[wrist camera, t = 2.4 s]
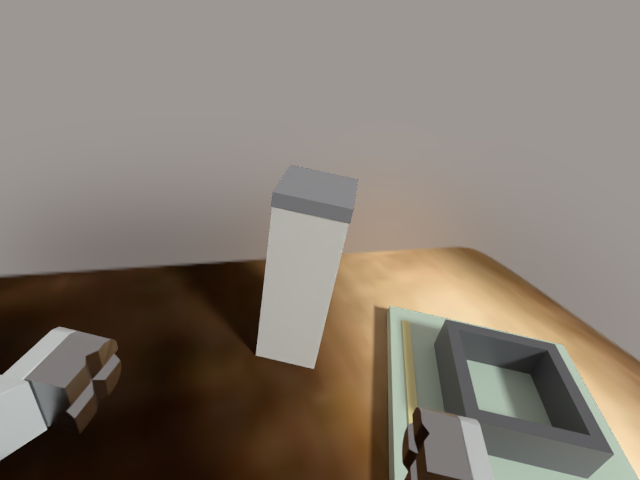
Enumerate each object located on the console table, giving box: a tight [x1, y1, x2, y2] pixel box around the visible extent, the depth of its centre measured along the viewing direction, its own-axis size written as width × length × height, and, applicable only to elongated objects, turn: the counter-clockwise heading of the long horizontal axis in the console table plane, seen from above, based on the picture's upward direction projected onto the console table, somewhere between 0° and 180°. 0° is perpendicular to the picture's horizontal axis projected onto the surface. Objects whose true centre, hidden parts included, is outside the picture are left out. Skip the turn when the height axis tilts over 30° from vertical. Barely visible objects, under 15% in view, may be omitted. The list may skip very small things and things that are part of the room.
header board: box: [387, 306, 639, 480], centre depth 23 cm, size 14×14×4 cm
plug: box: [256, 165, 358, 369], centre depth 23 cm, size 4×5×12 cm
